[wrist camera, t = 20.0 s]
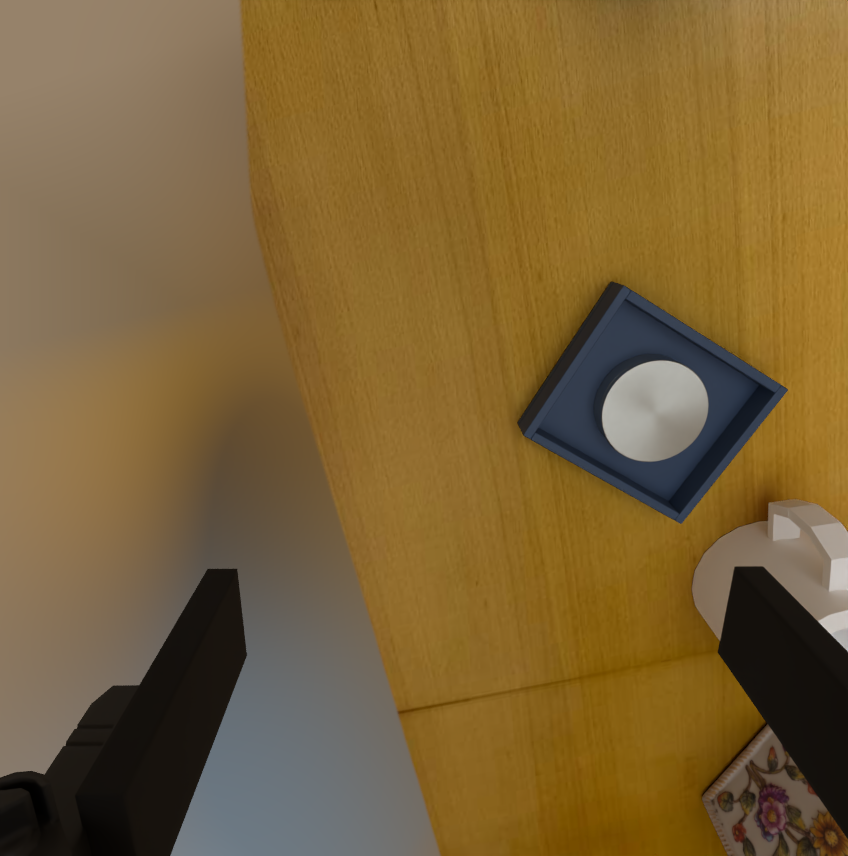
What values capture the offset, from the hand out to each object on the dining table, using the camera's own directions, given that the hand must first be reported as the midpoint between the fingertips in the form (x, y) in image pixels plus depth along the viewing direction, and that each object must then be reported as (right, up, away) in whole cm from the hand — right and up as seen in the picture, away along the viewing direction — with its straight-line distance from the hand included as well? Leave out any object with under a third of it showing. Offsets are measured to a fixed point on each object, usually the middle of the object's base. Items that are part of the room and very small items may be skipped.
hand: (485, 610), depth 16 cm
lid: (+13, +6, +24) cm, 28 cm away
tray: (+13, +7, +26) cm, 30 cm away
